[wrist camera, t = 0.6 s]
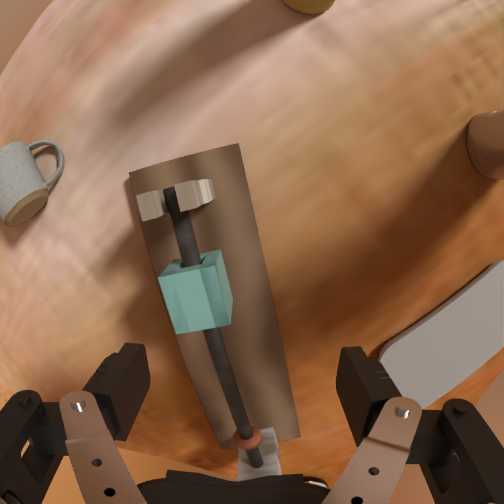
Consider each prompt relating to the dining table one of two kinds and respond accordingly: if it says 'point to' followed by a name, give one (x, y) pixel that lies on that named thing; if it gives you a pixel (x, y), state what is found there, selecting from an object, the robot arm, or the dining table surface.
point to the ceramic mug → (23, 181)
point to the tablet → (449, 340)
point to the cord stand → (243, 308)
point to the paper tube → (309, 5)
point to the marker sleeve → (197, 293)
